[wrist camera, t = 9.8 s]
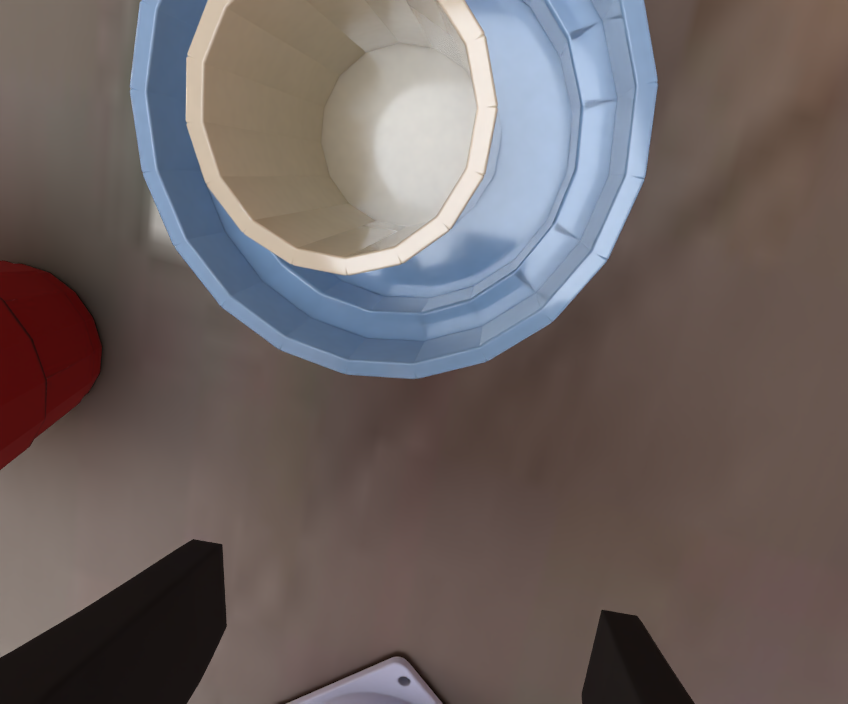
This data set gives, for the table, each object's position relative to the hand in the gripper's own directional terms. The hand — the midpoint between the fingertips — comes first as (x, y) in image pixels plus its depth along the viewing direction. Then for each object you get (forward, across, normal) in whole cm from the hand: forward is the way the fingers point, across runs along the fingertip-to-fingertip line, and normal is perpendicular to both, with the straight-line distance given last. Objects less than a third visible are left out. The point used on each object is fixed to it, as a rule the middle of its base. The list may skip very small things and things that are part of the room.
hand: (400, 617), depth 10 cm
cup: (+9, +2, -9) cm, 13 cm away
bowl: (+9, +2, -9) cm, 13 cm away
